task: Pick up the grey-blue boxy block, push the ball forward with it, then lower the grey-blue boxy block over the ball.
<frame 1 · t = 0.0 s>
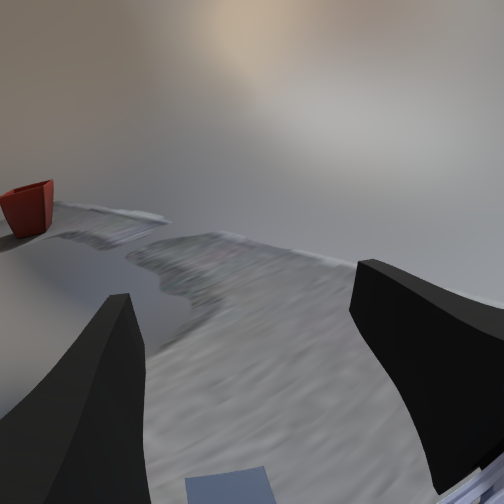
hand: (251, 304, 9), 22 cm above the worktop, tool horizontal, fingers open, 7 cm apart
plant pot: (35, 231, 94), on the worktop
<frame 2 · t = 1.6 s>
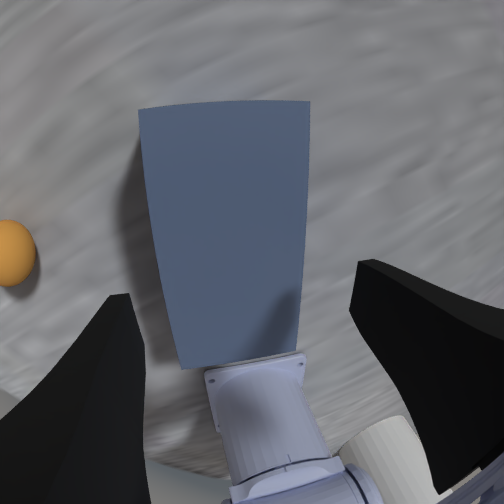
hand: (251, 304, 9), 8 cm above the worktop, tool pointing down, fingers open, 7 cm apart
bottle: (372, 437, 38), on the worktop
ball: (7, 253, 13), on the worktop
grey-blue boxy block: (216, 210, 17), on the worktop
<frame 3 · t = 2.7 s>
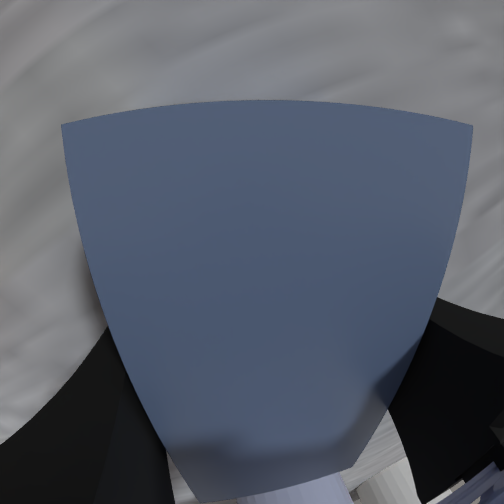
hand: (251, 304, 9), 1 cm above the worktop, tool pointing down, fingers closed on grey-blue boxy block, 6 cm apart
bottle: (391, 471, 32), on the worktop
grey-blue boxy block: (241, 280, 11), on the worktop, touching gripper
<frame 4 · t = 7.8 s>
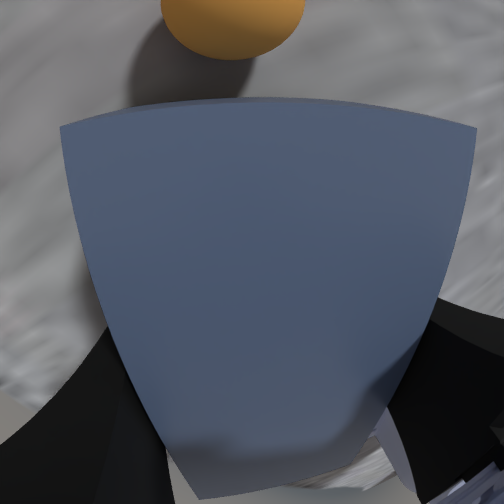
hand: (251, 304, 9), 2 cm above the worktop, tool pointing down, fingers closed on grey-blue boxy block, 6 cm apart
grey-blue boxy block: (241, 277, 11), point 1 cm above the worktop, touching gripper
when the fingers open (2 cm above the worktop, at t = 14.6 s): grey-blue boxy block stays where it is, on the worktop.
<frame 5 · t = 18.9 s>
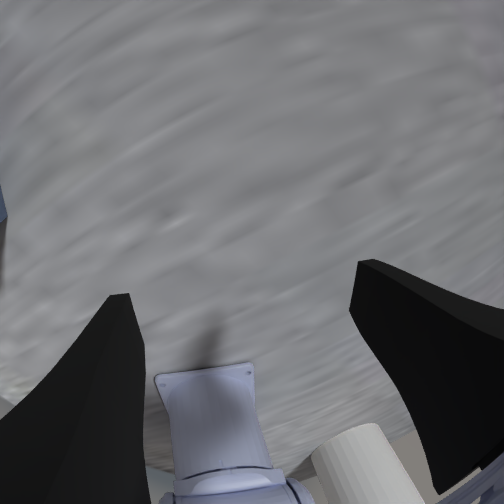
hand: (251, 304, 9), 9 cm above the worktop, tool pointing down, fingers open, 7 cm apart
bottle: (345, 443, 39), on the worktop
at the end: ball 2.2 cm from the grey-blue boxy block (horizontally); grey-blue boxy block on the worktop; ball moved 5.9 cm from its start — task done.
